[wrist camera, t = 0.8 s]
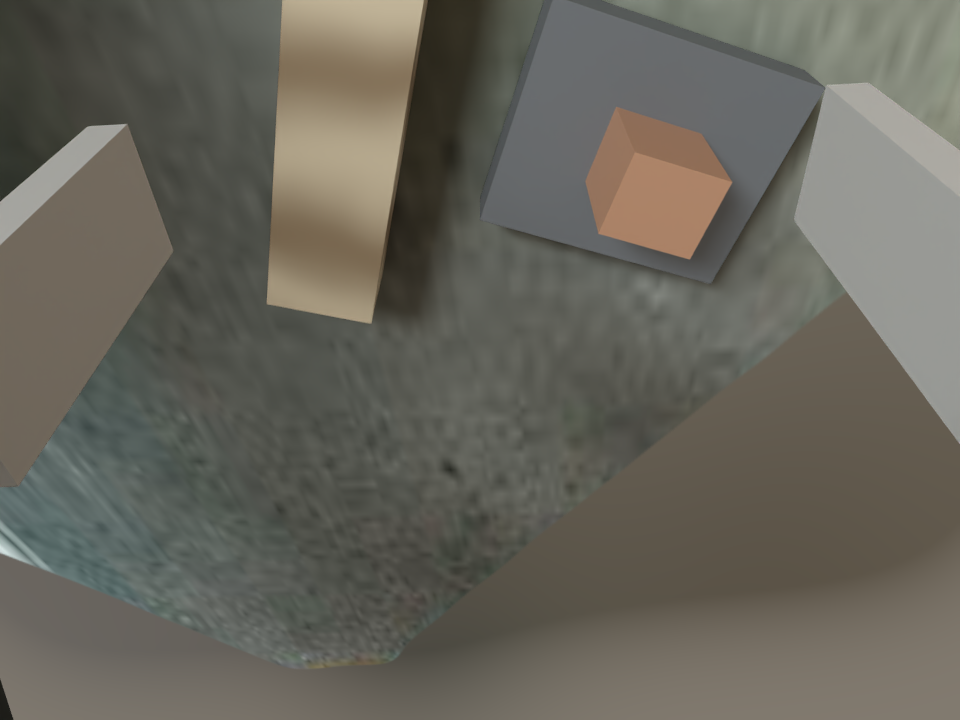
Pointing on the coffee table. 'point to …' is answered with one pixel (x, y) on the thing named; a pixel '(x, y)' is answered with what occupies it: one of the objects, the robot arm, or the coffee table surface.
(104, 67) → the coffee table surface
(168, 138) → the coffee table surface
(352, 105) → the beam
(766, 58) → the fulcrum
